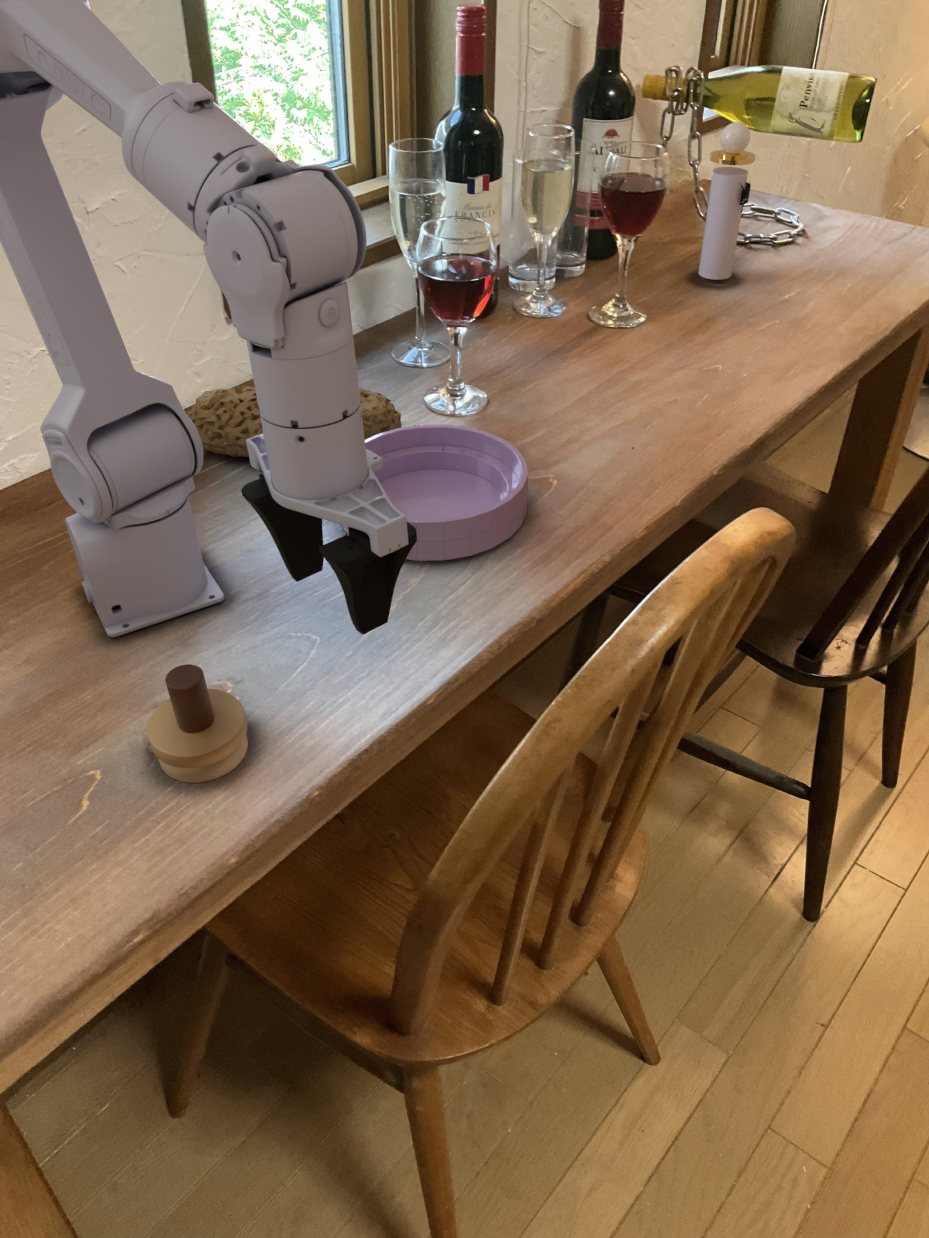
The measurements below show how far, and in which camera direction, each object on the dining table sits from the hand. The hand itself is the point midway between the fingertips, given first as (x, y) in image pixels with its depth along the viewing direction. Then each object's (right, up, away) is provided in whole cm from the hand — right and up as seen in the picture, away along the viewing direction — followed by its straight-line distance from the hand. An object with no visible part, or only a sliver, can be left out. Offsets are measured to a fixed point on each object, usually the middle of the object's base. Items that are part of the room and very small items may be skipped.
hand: (338, 599), depth 63 cm
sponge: (-8, +16, +36) cm, 40 cm away
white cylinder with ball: (+43, +46, +72) cm, 96 cm away
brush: (-10, -10, +3) cm, 14 cm away
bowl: (+5, +9, +26) cm, 28 cm away
